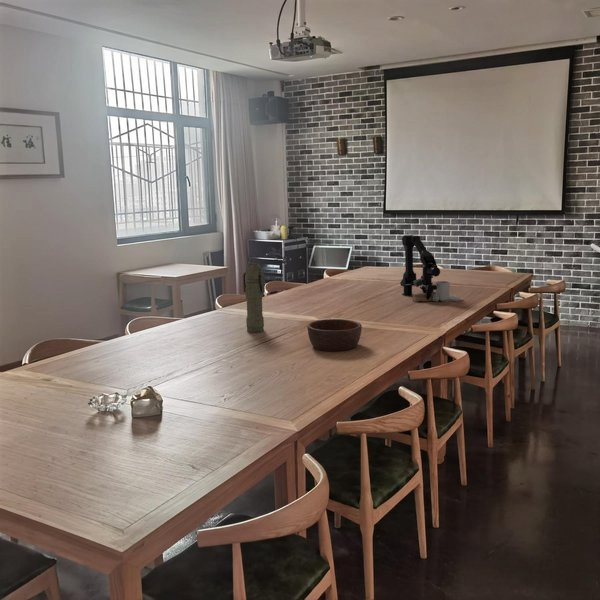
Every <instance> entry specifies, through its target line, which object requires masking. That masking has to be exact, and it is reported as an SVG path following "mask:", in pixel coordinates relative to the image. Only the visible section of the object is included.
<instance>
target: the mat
mask: <svg viewBox="0 0 600 600" xmlns="http://www.w3.org/2000/svg"><path fill="white" fill-rule="evenodd" d="M463 300H464V299H462V298H460V297H457V296H455V295H449V300H444V301H442V300H440V302H441V301H442V302H441V303H447V302H446V301H456V302H464V301H463Z"/></svg>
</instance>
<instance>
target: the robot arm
mask: <svg viewBox="0 0 600 600" xmlns="http://www.w3.org/2000/svg"><path fill="white" fill-rule="evenodd" d="M401 243H402V246H403V248H404V251H405V252H404V255H405V259H404V260H405V262H404V263H405V264H404V265H405V270H404V273H403V275H402V279H401V280H400V286H401V287H403V292H402V293H401V295H403V296H405V297H406V296H413V294H414V293H413V287H416V288H418V287H419V289H421V291H422V293H426V297H427V300H428V299H429V298H430V296H431V294H432V292H433V291H436V290H437V286H436V285H434V284H435V283H433V282H432V279H433V278H434V277H438V276H440V274H441V270H440V268H439V267H438V265H437V261H436V259H435V257H434V255H433V254H432V252H430V251H428V249H427V248H426V246H425V244H424V242H423V241H422V239H421V237H420V235H414V234H406V235H405V234H404V235H403V236H402V238H401ZM414 247H415V248H416V250H417V253H419V255H420V256H419V259H420V262H421V263H422V264H420V267H421V268H422V275H421V276H420V278H418V279H417V273H416V272H415V271H414Z"/></svg>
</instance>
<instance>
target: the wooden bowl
mask: <svg viewBox="0 0 600 600" xmlns="http://www.w3.org/2000/svg"><path fill="white" fill-rule="evenodd" d="M362 327H363V326H362V324H361V323H360V322H359V321H356V320H352V319H351V320H350V319H342V318H341V319H340V318H328V319H320V320H319V319H318V320H314V321H311V322H310V323H309V322H308V324H307V334H308V338H309V341H310V344H311V345H312V347H313V348H314V349H316V350H319V351H323V352H345V351H349V350H352V349H354V347H355V348H356V347H357V345H358V344H359V342H360V339H361V335H362V329H363V328H362Z"/></svg>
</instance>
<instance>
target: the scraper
mask: <svg viewBox="0 0 600 600" xmlns="http://www.w3.org/2000/svg"><path fill="white" fill-rule="evenodd" d="M412 294H413V295H412V302H414V303H419V301H422V302H430V301H433V302H435V301H436V302H439V296H438V295H436V294H433V293H432V294H431V296H430V298H429V299H428V300H427V297H426V293H423V292H421V293H412Z"/></svg>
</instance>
